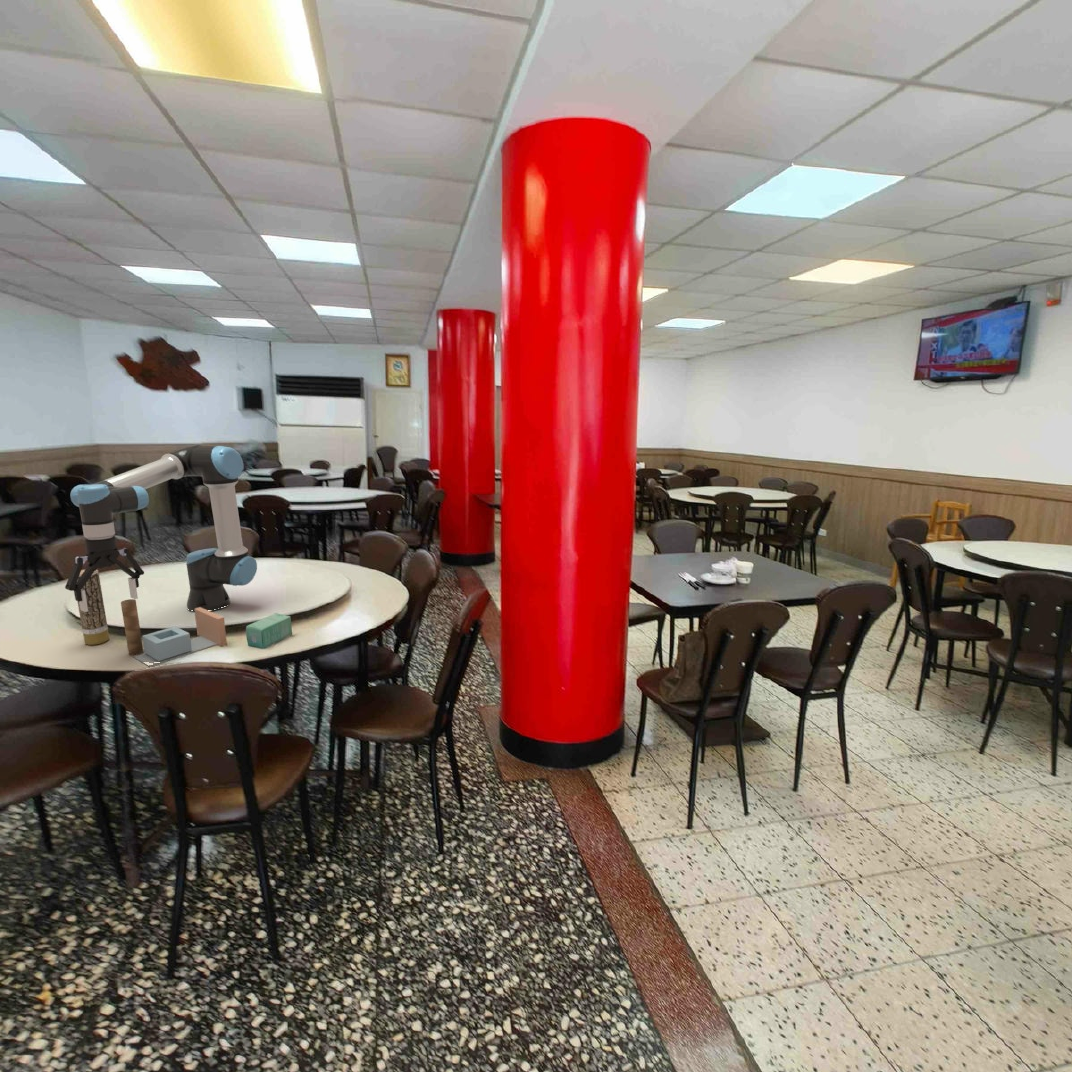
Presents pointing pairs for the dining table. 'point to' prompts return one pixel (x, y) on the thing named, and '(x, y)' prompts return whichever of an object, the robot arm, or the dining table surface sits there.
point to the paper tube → (94, 612)
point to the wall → (210, 626)
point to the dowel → (132, 627)
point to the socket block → (167, 643)
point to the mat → (196, 645)
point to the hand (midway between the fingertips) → (110, 604)
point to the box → (268, 630)
